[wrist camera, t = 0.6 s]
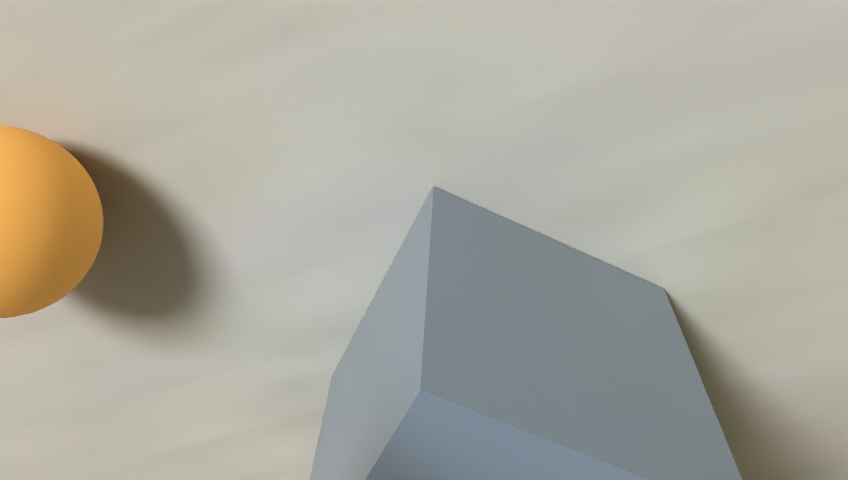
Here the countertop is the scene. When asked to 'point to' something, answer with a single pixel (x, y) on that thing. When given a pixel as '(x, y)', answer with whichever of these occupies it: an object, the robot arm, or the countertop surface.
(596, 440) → the grey-blue cube
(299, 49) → the countertop surface
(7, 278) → the ball
